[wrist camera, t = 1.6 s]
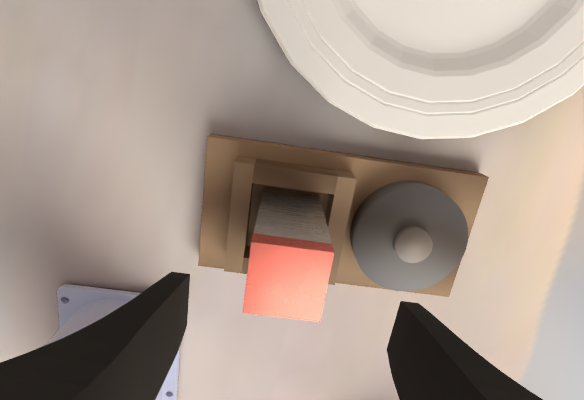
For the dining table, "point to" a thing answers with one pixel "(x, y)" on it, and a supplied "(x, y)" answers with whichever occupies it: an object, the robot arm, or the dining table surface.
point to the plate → (435, 59)
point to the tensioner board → (345, 211)
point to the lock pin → (289, 257)
